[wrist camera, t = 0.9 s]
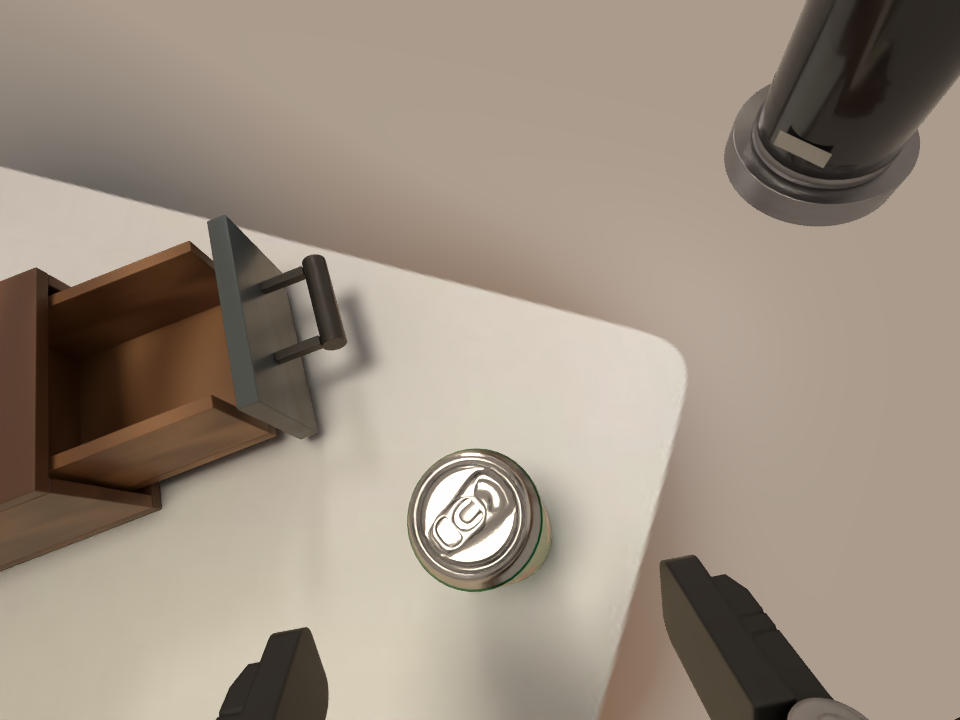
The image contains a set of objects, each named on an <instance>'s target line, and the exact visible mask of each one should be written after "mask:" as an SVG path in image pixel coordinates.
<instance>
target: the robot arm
mask: <svg viewBox="0 0 960 720" xmlns="http://www.w3.org/2000/svg"><path fill="white" fill-rule="evenodd" d="M959 76H960V0H806V3H805V5H804V8H803V10H802V12H801V15H800V17H799V20H798V22H797V25H796V27H795V29H794V31H793V34H792V36H791V39H790V41H789V43H788V46H787V48H786V51H785V53H784V55H783V58H782V60H781V63H780V65H779V67H778V70H777V72H776V74H775V76H774V79H773V81H772V84H771V86H770V88H769V91H768V93H767V96H766V98H765V101H764V102H763V103H762V105H761V107H760V109H759V111H758V113H757V115H756V118H755V120H754V123H753V128H752V140H753V144H754V147H755V150H756V152H757V154H758V155H759V157H760V158H761V160H762V161H763V162H764V163H765V164H766V165H767V166H768V167H769V168H770V169H771V170H772V171H774V172H775V173H777V174H778V175H780V176H781V177H783V178H785V179H787V180H789V181H791V182H794V183H797V184H799V185H803V186H807V187H812V188H818V189H843V188H849V187H854V186H858V185H861V184H864V183H866V182H868V181H871V180H872V179H874V178H876V177H878V176H879V175H880V174H882V173H883V172H884V171H885V170H886V169H887V168H888V167H889V166H890V165H891V164H892V163H893V161H894V160H895V159H896V158H897V156H898V155H899V153H900V152H901V150H902V148H903V146H904V145H905V144H906V142H907V141H908V140H909V139H910V137H911V136H912V135H913V134H914V132H915V131H916V130H917V129H918V127H919V126H920V125H921V123H923V121H924V120H925V119H926V118H927V116H928V115H929V114H930V113H931V111H932V110H933V109H934V108H935V106H936V105H937V104H938V102H939V101H940V100H941V99H942V97H943V96H944V95H945V94H946V93H947V91H948V90H949V89H950V87H951V86H952V85H953V84H954V82H955V81H956V80H957V79H958V77H959ZM660 578H661V592H662V607H663V617H664V622H665V626H666V629H667V632H668V635H669V638H670V640H671V643H672V645H673V647H674V648H675V651H676V653H677V655H678V657H679V658H680V660H681V662H682V664H683V666H684V668H685V670H686V672H687V674H688V676H689V678H690V680H691V682H692V684H693V686H694V688H695V689H696V691H697V693H698V695H699V697H700V699H701V701H702V703H703V705H704V707H705V709H706V711H707V713H708V715H709V717H710V718H711V720H868V719H867V718H866V717H865V716H863V715H862V714H861V713H859V712H858V711H856V710H855V709H853V708H851V707H849V706H847V705H845V704H843V703H840V702H838V701H835V700H833V698H832V697H831V696H830V695H829V694H828V692H827V691H826V690H825V689H824V687H823V686H822V685H821V683H820V682H819V681H818V680H817V678H816V677H815V676H814V674H813V673H812V672H811V671H810V669H809V668H808V667H807V665H806V664H805V663H804V662H803V660H802V659H801V658H800V657H799V655H798V654H797V653H796V651H795V650H794V649H793V647H792V646H791V645H790V644H789V643H788V641H787V640H786V638H785V637H784V636H783V635H782V633H781V632H780V631H779V630H777V629H776V626H775V624H774V623H773V622H772V620H771V619H770V618H769V617H768V615H767V614H766V613H764V612H763V609H762V607H761V606H760V605H759V604H758V602H757V601H756V600H755V598H754V597H753V596H752V595H751V593H750V592H749V591H748V589H746V588H745V587H743V586H742V585H740V584H739V583H737V582H736V581H734V580H733V579H731V578H730V577H728V576H727V575H726V574H724V575H719V576H714V577H711V576H710V575H709V573H708V572H707V570H706V569H705V567H704V566H703V565H702V563H701V562H700V560H699V559H698V558H697V557H696V556H695V555H688V556H683V557H678V558H672V559H667V560H662V561H661V562H660ZM328 695H329V694H328V682H327V678H326V674H325V671H324V668H323V665H322V663H321V660H320V657H319V654H318V651H317V648H316V645H315V642H314V639H313V636H312V633H311V631H310V629H309V628H307V627H304V628H299V629H294V630H289V631H283V632H278V633H274V634H272V635H271V636H270V638H269V640H268V642H267V645H266V647H265V650H264V653H263V655H262V658H261V660H260V662H258V663H253V664H248V665H247V666H246V668H245V669H244V670H243V671H242V673H241V674H240V675H239V676H238V678H237V679H236V680H235V681H234V683H233V684H232V685H231V687H230V688H229V690H228V693H227V695H226V697H225V700H224V702H223V704H222V707H221V709H220V712H219V717H217V719H216V720H325V718H326V714H327V709H328ZM955 720H960V717H959V718H957V719H955Z"/></svg>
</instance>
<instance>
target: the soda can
mask: <svg viewBox="0 0 960 720" xmlns="http://www.w3.org/2000/svg"><path fill="white" fill-rule="evenodd" d="M407 527H408V535H409V539H410V543H411V546H412V549H413V551H414V553H415V555H416V557H417V559H418V560H419V562H420V563H421V565H422V567H423V568H424V569H425V570H426V571H427V572H428V573H429V574H430V575H431V576H432V577H434V578H435V579H436V580H438V581H439V582H441V583H443V584H445V585H446V586H448V587H451V588H454V589H457V590H461V591H468V592H482V591H486V590H491V589H495V588H499V587H502V586H505V585H509V584H512V583H516V582H519V581H521V580H524V579H526V578H528V577H530V576H531V575H533V574H534V573H535V572H536V571H537V570H538V569H539V568H540V567H541V566H542V564H543V563H544V561H545V559H546V558H547V555H548V553H549V550H550V546H551V539H552V531H551V524H550V520H549V518H548V515H547V512H546V510H545V508H544V505H543V503H542V501H541V498H540V496H539V493H538V491H537V489H536V486H535V485H534V483H533V481H532V480H531V478H530V476H529V475H528V474H527V473H526V472H525V470H524V469H523V468H522V467H521V466H520V465H518V464H517V463H516V462H515V461H513V460H512V459H510V458H509V457H507V456H505V455H503V454H500V453H498V452H495V451H491V450H487V449H466V450H461V451H457V452H454V453H452V454H449V455H447V456H445V457H444V458H442V459H440V460H438V461H437V462H436V463H435V464H434V465H432V466H431V467H430V468H429V469H428V470H427V471H426V472H425V473H424V475H423V476H422V477H421V479H420V480H419V482H418V483H417V485H416V487H415V489H414V491H413V494H412V497H411V500H410V503H409V508H408V514H407Z"/></svg>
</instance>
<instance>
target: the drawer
mask: <svg viewBox="0 0 960 720" xmlns="http://www.w3.org/2000/svg"><path fill="white" fill-rule="evenodd" d="M207 224H208V230H209V237H210V243H211V249H212V255H213V261H212V260H211V259H210V258H209V257H208V256H207V255H205V254H204V253H203V252H202V251H201V250H200V249H199V248H197V247H196V246H195V245H194V244H193V243H192V242H190V241H187V242H185V243H182V244H180V245H177V246H175V247H172V248H170V249H167V250H164V251H162V252H159V253H157V254H154V255H152V256H149V257H147V258H144V259H142V260H139V261H137V262H134V263H132V264H129V265H126V266H124V267H121V268H119V269H116V270H114V271H111V272H109V273H106V274H104V275H101V276H99V277H96V278H93V279H91V280H88V281H86V282H83V283H81V284H78V285H76V286H73V287H71V288H68V289H66V290H63V291H61V292H58V293H55V294H53V295H50V296H48V421H49V478H52V479H57V480H63V481H69V482H75V483H81V484H87V485H93V486H98V487H104V488H110V489H116V490H122V491H128V492H133V491H135V490H138V489H141V488H143V487H146V486H148V485H151V484H154V483H156V482H159V481H161V480H164V479H166V478H169V477H172V476H174V475H177V474H179V473H182V472H185V471H187V470H190V469H192V468H195V467H197V466H200V465H203V464H205V463H208V462H210V461H213V460H216V459H218V458H221V457H223V456H226V455H228V454H231V453H234V452H236V451H239V450H241V449H244V448H247V447H249V446H252V445H254V444H257V443H259V442H262V441H265V440H267V439H270V438H272V437H275V436H276V432H275V427H276V428H278V429H280V430H282V431H284V432H286V433H288V434H290V435H292V436H295V437H297V438H299V439H303V438H306V437H309V436H311V435H314V434H316V433H318V430H317V425H316V421H315V416H314V412H313V407H312V403H311V399H310V394H309V390H308V385H307V381H306V376H305V372H304V367H303V363H302V358H301V356H304V355H306V354H309V353H311V352H314V351H316V350H319V349H322V348H324V349H326V350H337V349H340V348H342V347H344V346H345V345H346V343H347V339H346V335H345V331H344V328H343V324H342V320H341V316H340V313H339V309H338V305H337V302H336V298H335V294H334V290H333V287H332V283H331V279H330V275H329V272H328V268H327V264H326V260H325V258H324V257H323V256H321V255H309V256H307V257H306V258H304V259H303V261H302V265H303V267H298V268H296V269H293V270H291V271H288V272H286V273H283V274H282V272H281V271H280V270H279V269H278V268H277V267H276V266H275V265H274V264H273V263H272V262H271V261H270V260H269V259H268V258H267V257H266V256H265V255H264V254H263V253H262V252H261V251H260V250H259V249H258V248H257V247H256V246H255V245H254V244H253V243H252V242H251V241H250V239H249V238H248V237H247V236H246V235H245V234H244V233H243V232H242V231H241V230H240V229H239V228H238V227H237V226H236V225H235V224H234V223H233V222H232V221H231V220H230V219H229V218H228V217H227V216H226V215H222V216H220V217H217V218H215V219H212V220H210V221H208V222H207ZM304 279H306V282H307V286H308V290H309V294H310V298H311V302H312V306H313V310H314V314H315V319H316V323H317V327H318V331H319V335H320V337H319V336H315V337H313V338H310V339H308V340H305V341H303V342H300V343H298V340H297V336H296V332H295V327H294V323H293V318H292V314H291V309H290V305H289V300H288V296H287V291H286V287H287V286H289V285H292V284H294V283H297V282H299V281H302V280H304Z"/></svg>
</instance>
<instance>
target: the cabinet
mask: <svg viewBox="0 0 960 720" xmlns="http://www.w3.org/2000/svg"><path fill="white" fill-rule="evenodd" d="M68 288H71V287H70V286H68V285H66V284H65V283H63V282H61V281H59V280H57V279H56V278H54V277H52V276H50V275H48V274H47V273H45V272H44V271H42V270H40V269H38V268H33V269H31V270H28V271H25V272H23V273H20V274H18V275H15V276H13V277H10V278H8V279H5V280H3V281H0V571H2V570H4V569H7V568H9V567H12V566H15V565H17V564H20V563H22V562H25V561H28V560H30V559H33V558H35V557H38V556H40V555H43V554H46V553H48V552H51V551H53V550H56V549H59V548H61V547H64V546H66V545H69V544H72V543H74V542H77V541H79V540H82V539H85V538H87V537H90V536H92V535H95V534H97V533H100V532H103V531H105V530H108V529H110V528H113V527H116V526H118V525H121V524H123V523H126V522H129V521H131V520H134V519H136V518H139V517H142V516H144V515H147V514H149V513H152V512H154V511H157V510H160V509H161V498H160V487H159V482H156V483H154V484H151V485H148V486H146V487H143V488H141V489H138V490H135V491H133V492H128V491H122V490H116V489H110V488H104V487H98V486H93V485H87V484H81V483H75V482H69V481H63V480H57V479H52V478H49V421H48V296H50V295H53V294H55V293H58V292H61V291H63V290H66V289H68Z"/></svg>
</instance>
